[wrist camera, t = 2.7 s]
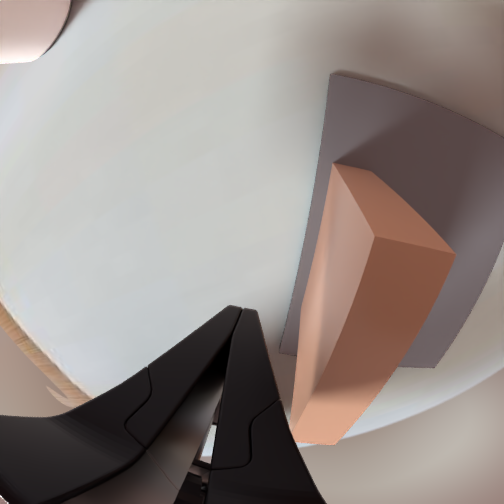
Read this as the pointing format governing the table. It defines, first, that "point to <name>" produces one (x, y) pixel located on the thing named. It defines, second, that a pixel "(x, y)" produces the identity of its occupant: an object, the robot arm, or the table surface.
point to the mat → (415, 194)
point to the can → (30, 27)
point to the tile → (361, 301)
